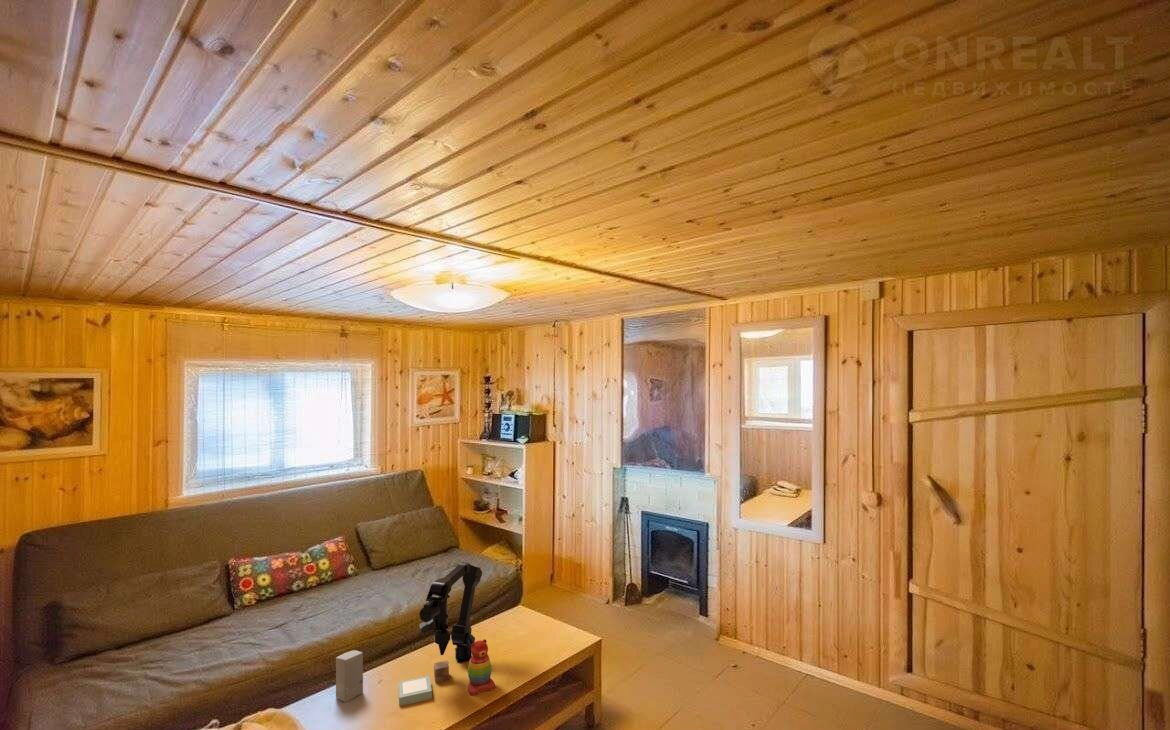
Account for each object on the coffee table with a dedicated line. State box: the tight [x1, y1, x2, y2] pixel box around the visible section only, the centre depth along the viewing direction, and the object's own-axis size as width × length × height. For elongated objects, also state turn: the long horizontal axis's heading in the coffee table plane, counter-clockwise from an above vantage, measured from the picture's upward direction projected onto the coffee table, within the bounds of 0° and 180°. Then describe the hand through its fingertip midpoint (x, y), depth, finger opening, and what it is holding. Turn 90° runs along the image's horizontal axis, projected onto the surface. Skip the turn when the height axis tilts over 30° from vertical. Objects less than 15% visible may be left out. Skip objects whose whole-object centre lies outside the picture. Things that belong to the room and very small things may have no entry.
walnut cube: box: [433, 660, 450, 684], centre depth 220 cm, size 6×6×6 cm
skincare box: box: [335, 649, 364, 703], centre depth 210 cm, size 8×7×16 cm
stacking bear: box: [467, 639, 496, 696], centre depth 213 cm, size 11×10×18 cm
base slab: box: [398, 675, 433, 707], centre depth 209 cm, size 12×12×3 cm
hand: (441, 650), depth 221 cm, fingers open, 9 cm apart
